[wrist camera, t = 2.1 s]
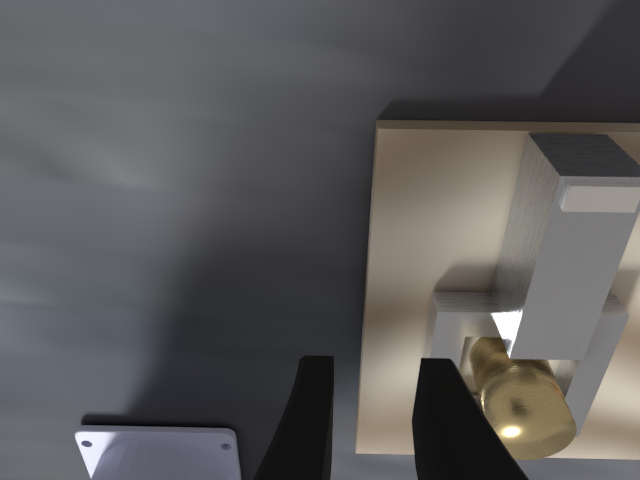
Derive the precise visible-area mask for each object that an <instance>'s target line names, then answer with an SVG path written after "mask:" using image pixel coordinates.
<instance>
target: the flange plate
mask: <svg viewBox="0 0 640 480" xmlns="http://www.w3.org/2000/svg"><path fill="white" fill-rule="evenodd" d="M639 212H640V165H639V164H638V163H637V162H636V161H635V160H634V159H632V158H631V157H630V156H629V155H628V154H627V153H626V152H625V151H624V150H623V149H622V148H621V147H620V146H619V145H618V144H616V143H615V142H614V141H613V140H612V139H611V138H610V137H609V136H608V135H607V134H545V133H528V134H527V138H526V143H525V147H524V152H523V156H522V160H521V165H520V169H519V173H518V178H517V182H516V186H515V191H514V195H513V199H512V204H511V208H510V212H509V217H508V221H507V225H506V230H505V234H504V238H503V243H502V247H501V252H500V256H499V260H498V265H497V269H496V273H495V278H494V282H493V286H492V291H491V292H444V291H432V298H431V304H430V311H429V317H428V324H427V330H426V337H425V343H424V350H423V356H422V358H450V359H451V360H452V361H453V362H454V363H455V365H456V367H457V369H459V364H460V359H461V354H462V350H463V345H464V340H465V337H502V340H503V343H504V345H505V348H506V351H507V353H508V356H509V359H541V360H561V361H560V364H559V367H558V369H557V372H556V375H555V377H556V380H557V382H558V384H559V386H560V389H561V391H562V393H563V396H564V398H565V400H566V402H567V405H568V407H569V409H570V411H571V414H572V416H573V418H574V420H575V423H576V425H577V432H576V436H575V437H578V436H579V434H580V432H581V429H582V427H583V425H584V422H585V420H586V418H587V415H588V413H589V410H590V408H591V406H592V403H593V401H594V399H595V396H596V394H597V392H598V389H599V387H600V384H601V382H602V380H603V377H604V375H605V373H606V370H607V368H608V366H609V363H610V361H611V358H612V356H613V354H614V351H615V349H616V347H617V344H618V342H619V340H620V337H621V335H622V332H623V330H624V328H625V325H626V323H627V321H628V318H629V316H630V315H629V314H628V312H627V311H626V309H625V308H624V306H623V305H622V303H621V302H620V300H619V299H618V297H617V296H616V295H614V294H608V293H609V290H610V288H611V285H612V282H613V280H614V277H615V275H616V272H617V269H618V267H619V264H620V262H621V259H622V256H623V254H624V251H625V248H626V246H627V243H628V241H629V238H630V235H631V233H632V230H633V228H634V225H635V222H636V220H637V217H638V215H639ZM472 396H473V397H474V399H475V401H476V402H477V404H478V405H479V407H480V409H481V410H482V412H483V409H482V405H481V402H480V398H479V395H477V394H472ZM483 414H484V412H483Z"/></svg>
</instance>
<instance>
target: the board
mask: <svg viewBox="0 0 640 480" xmlns="http://www.w3.org/2000/svg"><path fill="white" fill-rule="evenodd" d="M528 133H545V134H607V135H608V136H609V137H610V138H611V139H612V140H613V141H614V142H615V143H616V144H618V145H619V146H620V147H621V148H622V149H623V150H624V151H625V152H626V153H627V154H628V155H629V156H630V157H631V158H632V159H634V160H635V161H636V162H637V163H638V164H639V165H640V123H588V122H512V121H435V120H376V134H375V149H374V164H373V179H372V194H371V210H370V225H369V240H368V255H367V270H366V285H365V301H364V316H363V331H362V346H361V361H360V377H359V392H358V407H357V422H356V437H355V443H356V453H364V454H409V455H415V454H414V443H413V432H412V415H413V408H414V402H415V395H416V388H417V382H418V375H419V369H420V362H421V358H422V356H423V350H424V343H425V337H426V330H427V324H428V317H429V311H430V304H431V298H432V291H444V292H491V291H492V286H493V282H494V278H495V273H496V269H497V265H498V260H499V256H500V252H501V247H502V243H503V238H504V234H505V230H506V225H507V221H508V217H509V212H510V208H511V204H512V199H513V195H514V191H515V186H516V182H517V178H518V173H519V169H520V165H521V160H522V156H523V152H524V147H525V143H526V138H527V134H528ZM608 294H614V295H616V296H617V297H618V299H619V300H620V302H621V303H622V305H623V306H624V308H625V309H626V311H627V312H628V314H629V315H630V316H629V318H628V321H627V323H626V325H625V328H624V330H623V332H622V335H621V337H620V340H619V342H618V344H617V347H616V349H615V351H614V354H613V356H612V358H611V361H610V363H609V366H608V368H607V370H606V373H605V375H604V377H603V380H602V382H601V384H600V387H599V389H598V392H597V394H596V396H595V399H594V401H593V403H592V406H591V408H590V410H589V413H588V415H587V418H586V420H585V422H584V425H583V427H582V429H581V432H580V434H579V436H578V437H575V438H574V439H573V441H572V442H571V443H570V444H569V445H568V446H567V447H566V448H565V449H563V450H562V451H560V452H558V453H556V454H554V455H552V456H549V457H546V458H592V459H637V460H640V212H639V215H638V217H637V220H636V222H635V225H634V228H633V230H632V233H631V235H630V238H629V241H628V243H627V246H626V248H625V251H624V254H623V256H622V259H621V262H620V264H619V267H618V269H617V272H616V275H615V277H614V280H613V282H612V285H611V288H610V290H609V293H608ZM480 338H481V337H465V340H464V345H463V350H462V354H461V359H460V364H459V369H458V371H459V372H460V374H461V376H462V378H463V380H464V382H465V383H466V385H467V387H468V389H469V390H470V392H471V394H477V395H479V394H478V391H477V387H476V384H475V380H474V377H473V373H472V369H471V366H470V362H469V353H470V350H471V348H472V346H473V345H474V344H475V342H476V341H477V340H479V339H480ZM560 361H561V360H548V362H549V364H550V366H551V368H552V371H553V373H554V375H556V372H557V369H558V367H559V364H560Z"/></svg>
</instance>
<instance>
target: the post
mask: <svg viewBox="0 0 640 480" xmlns="http://www.w3.org/2000/svg"><path fill="white" fill-rule="evenodd" d="M469 362H470V366H471V369H472V373H473V377H474V380H475V384H476V387H477V391H478V394H479V398H480V402H481V405H482V409H483V412H484V415H485V417H486V418H487V420H488V422H489V423H490V425H491V426H492V428H493V429H494V431H495V432H496V434H497V435H498V437H499V438H500V440H501V441H502V443H503V444H504V446H505V447H506V448H507V450H508V451H509V453H510V454H511V456H512V457H513V459H518V460H536V459H541V458H545V457H549V456H552V455H554V454H556V453H558V452H560V451H562V450H563V449H565V448H566V447H567V446H568V445H569V444H570V443H571V442H572V441H573V439H574V438H575V436H576V432H577V425H576V423H575V420H574V418H573V416H572V414H571V411H570V409H569V407H568V405H567V402H566V400H565V398H564V396H563V393H562V391H561V389H560V386H559V384H558V382H557V380H556V377H555V375H554V373H553V371H552V368H551V366H550V364H549V362H548V360H541V359H509V356H508V353H507V351H506V348H505V345H504V343H503V340H502V337H481V338H480V339H479V340H477V341H476V342H475V344H474V345H473V346H472V348H471V350H470V353H469Z"/></svg>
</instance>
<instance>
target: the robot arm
mask: <svg viewBox="0 0 640 480" xmlns="http://www.w3.org/2000/svg"><path fill="white" fill-rule="evenodd" d="M333 393H334V359H333V356H304V357H302V358H301V359H300V361H299V367H298V371H297V375H296V379H295V382H294V386H293V389H292V392H291V395H290V398H289V400H288V403H287V406H286V409H285V411H284V414H283V416H282V418H281V421H280V423H279V425H278V428H277V430H276V433H275V435H274V437H273V440H272V442H271V444H270V446H269V448H268V450H267V452H266V454H265V456H264V458H263V460H262V462H261V464H260V466H259V468H258V470H257V472H256V474H255V476H254V478H253V480H330V476H331V463H332V428H333ZM412 432H413V443H414V454H415V464H416V471H417V476H418V480H529V479H528V478H527V476H526V475H525V474H524V472H523V471H522V470H521V468H520V467H519V466H518V464H517V463H516V461H515V460H514V459H513V457H512V456H511V454H510V453H509V451H508V450H507V448H506V447H505V446H504V444H503V443H502V441H501V440H500V438H499V437H498V435H497V434H496V432H495V431H494V429H493V428H492V426H491V425H490V423H489V422H488V420H487V418H486V417H485V415H484V414H483V412H482V410H481V409H480V407H479V405H478V404H477V402H476V401H475V399H474V397H473V396H472V394H471V392H470V390H469V389H468V387H467V385H466V383H465V382H464V380H463V378H462V376H461V374H460V372H459V371H458V369H457V367H456V365H455V363H454V362H453V361H452V360H451V359H450V358H421V362H420V369H419V375H418V382H417V388H416V395H415V402H414V408H413V415H412ZM75 438H76V441H77V444H78V446H79V449H80V451H81V454H82V457H83V459H84V462H85V464H86V467H87V470H88V472H89V475H90V477H91V480H242V479H241V471H240V463H239V455H238V447H237V439H236V434H235V432H234V431H233V430H231V429H228V428H199V427H153V426H106V425H82V426H79V427H78V428H77V430H76V432H75Z"/></svg>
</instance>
